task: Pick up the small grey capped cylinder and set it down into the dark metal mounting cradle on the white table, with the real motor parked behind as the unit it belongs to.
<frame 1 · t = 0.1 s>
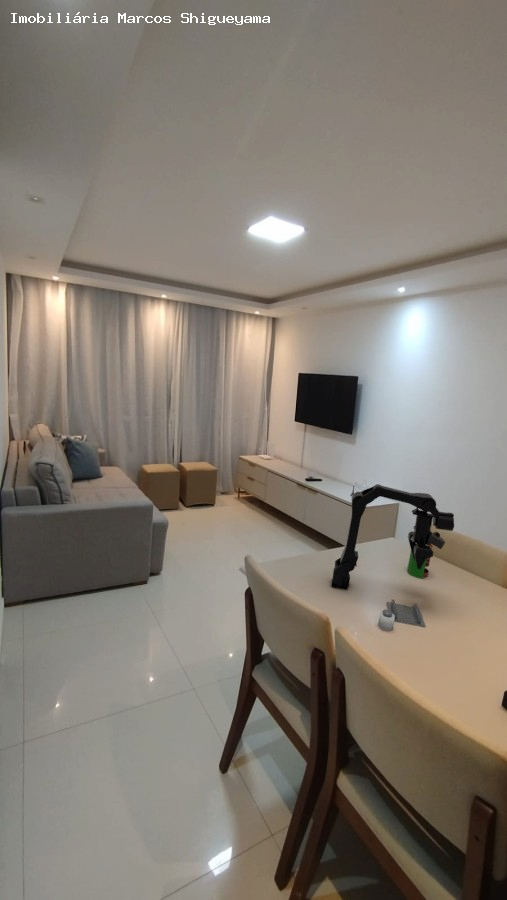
hand: (416, 564, 160), 15 cm above the table, fingers open, 9 cm apart
grey capped cylinder: (385, 626, 142), on the table
motor: (417, 573, 186), on the table
cradle: (405, 614, 150), on the table
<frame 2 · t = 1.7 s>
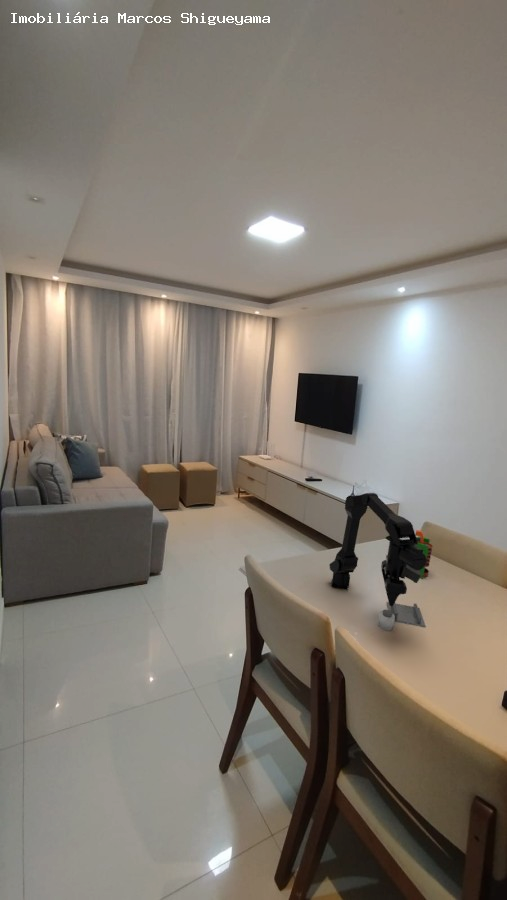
hand: (389, 598, 140), 10 cm above the table, fingers open, 9 cm apart
nothing on the table moved.
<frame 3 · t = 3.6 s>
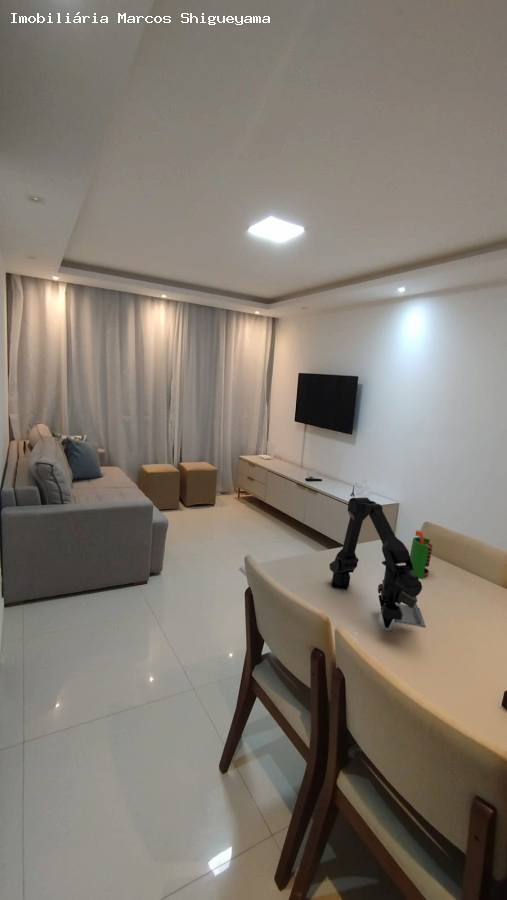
hand: (385, 623, 141), 1 cm above the table, fingers closed on grey capped cylinder, 5 cm apart
grey capped cylinder: (385, 626, 142), on the table, touching gripper
everything else where it was.
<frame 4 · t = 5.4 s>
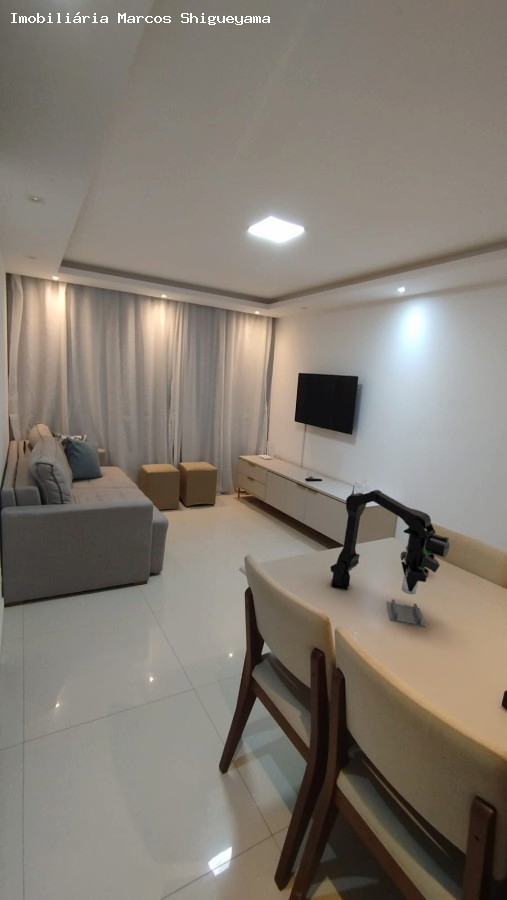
hand: (409, 587, 148), 11 cm above the table, fingers closed on grey capped cylinder, 5 cm apart
grey capped cylinder: (408, 590, 148), point 10 cm above the table, touching gripper
everything else where it was.
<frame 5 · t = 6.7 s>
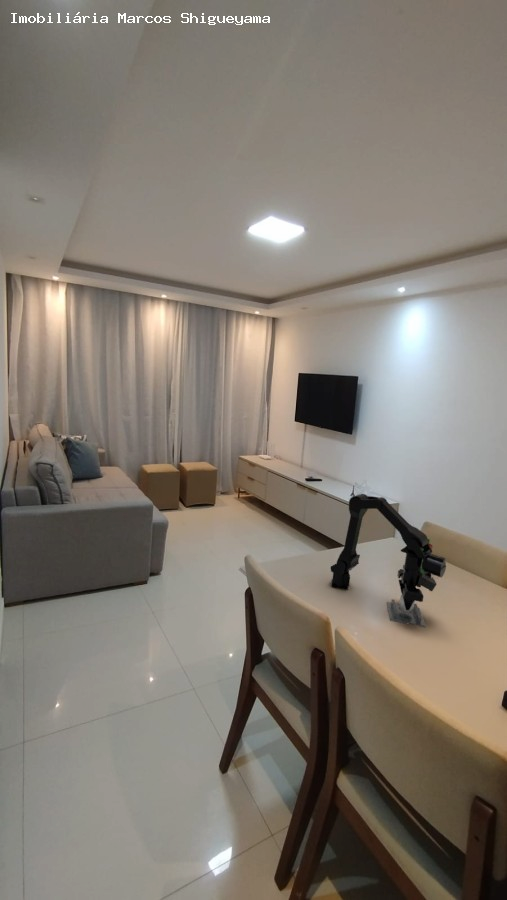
hand: (406, 605, 150), 4 cm above the table, fingers closed on grey capped cylinder, 5 cm apart
grey capped cylinder: (405, 609, 150), point 2 cm above the table, touching gripper
everything else where it was.
when the fingers open (3 cm above the table, at t = 7.6 s): grey capped cylinder drops 1 cm, resting on cradle.
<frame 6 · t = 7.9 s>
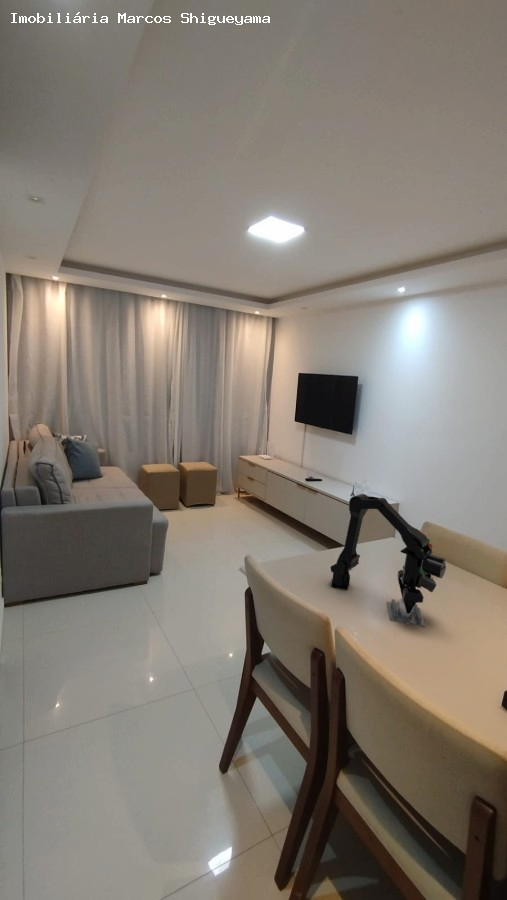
hand: (406, 606, 150), 3 cm above the table, fingers open, 9 cm apart
grey capped cylinder: (405, 613, 150), point 1 cm above the table, touching cradle
everything else where it was.
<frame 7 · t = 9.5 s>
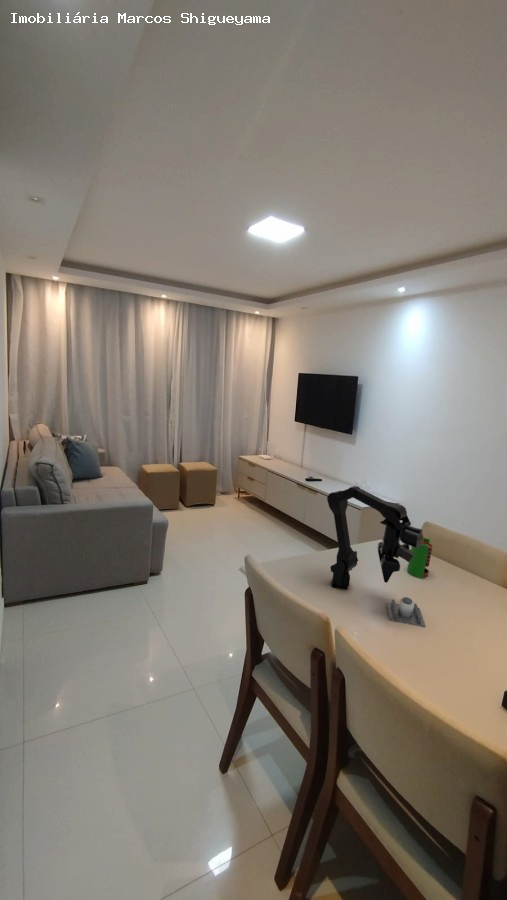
hand: (384, 576, 154), 11 cm above the table, fingers open, 9 cm apart
nothing on the table moved.
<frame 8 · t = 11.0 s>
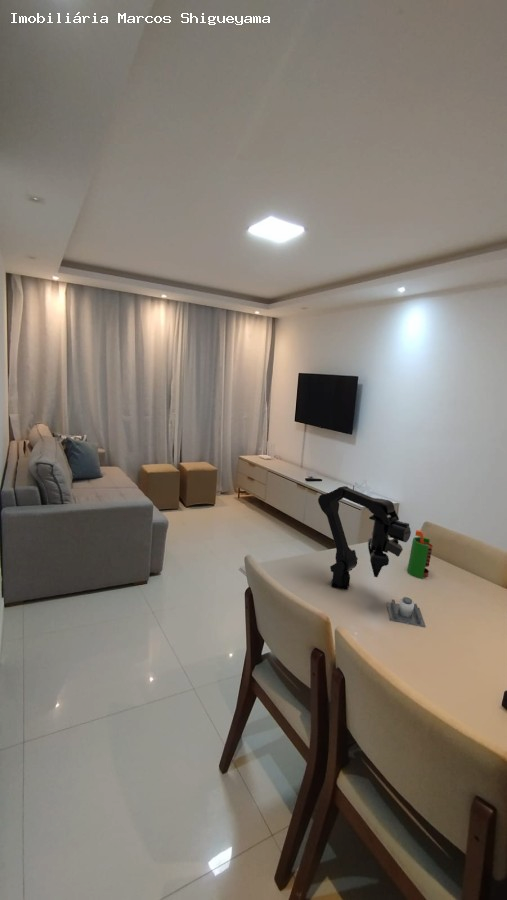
hand: (374, 571, 156), 12 cm above the table, fingers open, 9 cm apart
nothing on the table moved.
at the end: grey capped cylinder inside the target area on the cradle (0.0 cm from its centre), point 0.6 cm above the cradle's base; grey capped cylinder tilted 0°; the gripper is holding nothing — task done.
